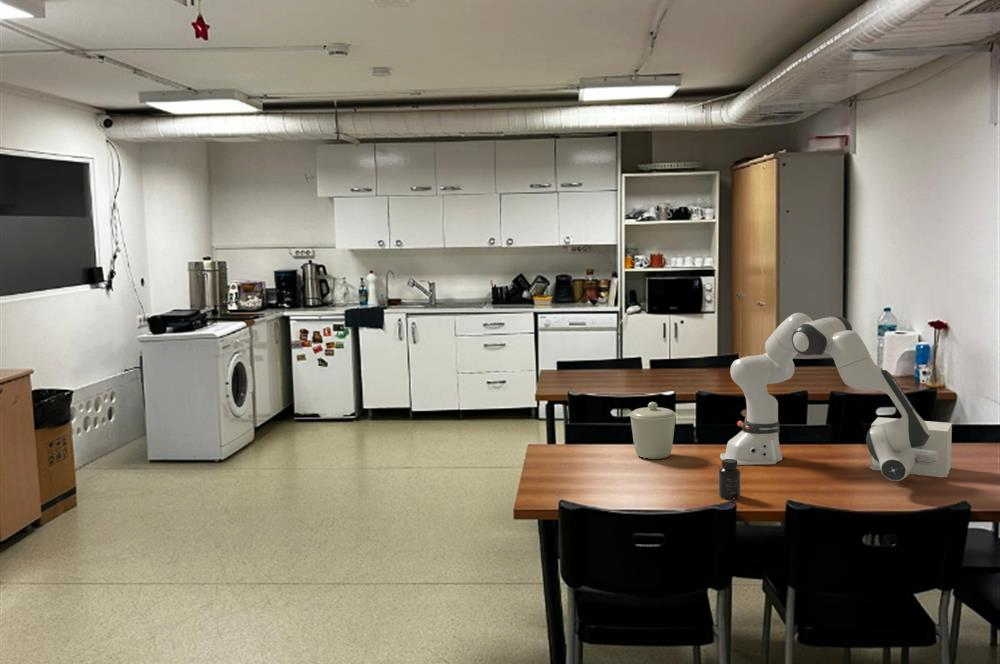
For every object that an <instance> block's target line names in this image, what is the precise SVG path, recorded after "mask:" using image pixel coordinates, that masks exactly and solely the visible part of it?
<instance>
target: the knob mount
mask: <svg viewBox="0 0 1000 664" xmlns="http://www.w3.org/2000/svg"><path fill="white" fill-rule="evenodd" d="M898 419H899V418H895V417H894V418H893V417H892V418H891V417H882V416H881V417H880V416H877V418H876V419H875V420H873V422H872V423H871V425H870V428H872V427H874V426H877V425H881V424H884V423H888V422H891V421H894V420H898ZM923 421H924V422H925V423H926V425H927V427H928V429H929V433H930V436H929V439H928V440H927V442H926V443H925V444H924V446H922V449H923V450H933V451H937V452H938V461H937V462H936V463H935V464H934V465H921V464H915V465H914V467H913V468H912V470H911V472H910V473H909V475H915V474H916V476H927V477H934V476H935V477H937V478H943V477H946V478H945V479H947V477H948V476H949V473H950V471H949V470H951V468H952V464H951V463H952V439H953V438H952V436H953V435H952V432H953V431H952V430H953V429H952V428H953V425H952V424H953V422H952V423H951V422H944V421H942V422H941V421H929V420H928V421H927V420H923ZM869 466H870V469H872V471H879V470H881V469H880V467H879V466H875V465H873V460H872V455H871V454H870V463H869ZM870 469H869V470H870Z"/></svg>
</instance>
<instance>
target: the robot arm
mask: <svg viewBox="0 0 1000 664" xmlns="http://www.w3.org/2000/svg"><path fill="white" fill-rule="evenodd" d="M852 327H853V326H852V324H851V323H850V322H849V320H848V319H847V318H845V317H843V316H839V315H836V316H835V315H832V316H831V315H830V316H826V317H822V318H818V319H816V320H813V319H812V318H811V317H810V316H809V315H807V314H805V313H803V312H794V313H792V314H790V315H789V316H788V317H786V318H785V319H784V320H783V321H782V322H781V323H780V324H779V325H777V327H776V329H775V330H773V332H772V334H771V335H770V336H769V337H768V338H767V339H766V341H765V343H764V348H765V349H764V350H765V353H762V354H758V355H748V356H747V355H746V356H743V357H740V358H738V359H735V360H734V361H733V362H732V364H731V365H730V371H729V373H730V377H731V379H732V381H733V382H734V384H736V385H737V386H738V387H739V388H740V389H741V390H742V393H743V395H744V397H745V403H746V415H747V420H746V421H745V420H744V422H743V421H742V420H739V421H737V423H736V424H737V427H740V428H741V429H742V430H740V431H739V432H738V433H737V434H736V435H734V436H733V437H732V438H730V439H729V440H728V441H727V444H726V449H725V452H722V453H720V454H719V458H720V459H721V461H722V460H723V459H734V460H737V465H738V466H741V465H745V466H746V465H747V466H749V465H776V464H777V463H778V462H781V461H782V460H783V456H782V451H781V447H780V441H779V439H780V438H779V436H780V422H779V403H778V400H777V399H776V397H775V396H773V395H772V394H769V392H768V388H767V385H771V384H779V383H783V382H785V381H788V380H790V379H791V378H792V377H793V375H794V374H795V368H796V366H795V363H794V361H793V359H794V358H795V357H796V356H797V355H798V354H800V355H802V356H822V355H824V353H825V354H828V355H829V356H831V357H832V359H833V360H834V361H833V362H834V365H835V366H836V368H837V372H838V373H839V376H840V378H841V380H842V381H843V383H844V384H845V385H846V386H847V387H850V388H851V389H855V390H862V391H869V390H871V391H878V392H879V391H880V392H883V393H885V394H887V395H888V396H889V398H890V399H891V401H892V403H893V404H894V406H895V407H896V409H897V410H898V412H899V413H900V415H901V417H900V418H897V419H898V420H894V421H891V422H888V423H884V424H881V425H877V426H874V427H872V428H871V427H870V428H869V429H868V431H867V434H866V438H865V442H866V446H867V449H868V452H869V453H870V454H869V455H870V456H871V455H872V460H873V465H875V466H879V467H880V469H881V471H880V473H881V474H882V475H883V477H885V478H886V479H887V480H890V481H894V482H899V481H902V480H904V479H905V478H907V477H908V476H909V475H910V474H909V473H910V472H911V470H912V468H913V467H914V465H915V464H921V465H934V464H935V463H936V462H937V461H938V452H937V451H933V450H923V449H913V448H914V447H919V446H924V444H925V443H926V442H927V440H928V439H929V436H930V433H929V429H928V427H927V425H926V423H925V422H924V421H925V420H924V419H923V418H922V417H921V415H920V414H919V413H918V412H917V410H916V409H915V407H914V406H913V404H912V402H911V401H910V400H909V398H908V396H907V395H906V393H905V392H904V390H903V389H902V387H901V386H900V385H899V383H898V382H897V380H896V379H895V378H894V376H893V375H892V374H891V372H889V371H888V370H887V369H882V368H880V367H879V366H877V364H876V363H875V361H874V360H873V358H872V357H871V354H870V352H869V350H868V347H867V345H866V344H865V342H864V341H863V339H862V338H861V336H860V335H859V333H858V332H856V331H854V330H853V328H852Z"/></svg>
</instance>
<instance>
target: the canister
mask: <svg viewBox="0 0 1000 664" xmlns="http://www.w3.org/2000/svg"><path fill="white" fill-rule="evenodd" d="M628 416H629V417H630V423H631V424H630V426H631V431H632V439H633V445H634V451H635V454H636V455H637V456H638V457H639V456H640V458H641V457H643V458H642V459H645V458H648V459H647V460H662V459H666V458H668V457H669V456H670V455H671V454H672V453H671V452H672V449H673V443H674V433H675V427H676V426H675V424H676V418H677V416H678V414H677V413H676V412H675V411H674V410H672V409H670V408H665V407H658V403H657V402H656V401H655V402H654V401H651V402H649V403H648V404H647V407H639V408H636V409H634V410H632V411H631V412H629V413H628Z"/></svg>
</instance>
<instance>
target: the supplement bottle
mask: <svg viewBox="0 0 1000 664" xmlns="http://www.w3.org/2000/svg"><path fill="white" fill-rule="evenodd" d="M738 466H739V465H737V460H734V459H723V460H722V459H721V468H719V470H718V495H719V497H720V498H721V499H723V498H725V499H724V500H729V499H733V498H738V497H740V498H741V496H742V494H741V492H742V490H741V485H742V483H741V480H742V478H741V477H742V475H741V470H740V469H739V468H738ZM738 499H739V498H738Z"/></svg>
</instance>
